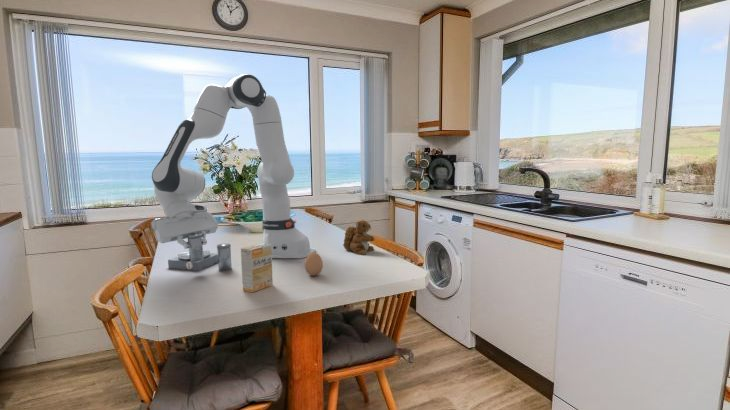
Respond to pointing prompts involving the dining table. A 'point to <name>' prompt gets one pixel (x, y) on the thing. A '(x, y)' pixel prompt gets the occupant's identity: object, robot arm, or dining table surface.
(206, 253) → the pan
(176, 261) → the scale
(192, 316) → the dining table surface
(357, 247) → the stuffed squirrel
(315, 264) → the egg
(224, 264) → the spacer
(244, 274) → the supplement box
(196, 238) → the cylinder
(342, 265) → the dining table surface
